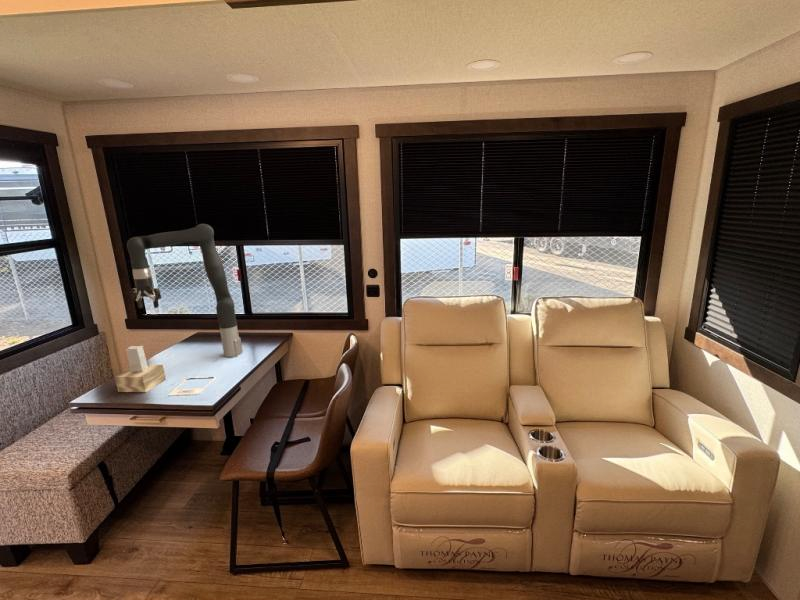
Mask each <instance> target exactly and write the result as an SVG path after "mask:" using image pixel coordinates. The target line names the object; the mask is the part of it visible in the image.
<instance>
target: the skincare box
mask: <svg viewBox="0 0 800 600" xmlns="http://www.w3.org/2000/svg"><path fill="white" fill-rule="evenodd" d="M124 351H125V354H126V357H127V361H128V364H129V369H131V372H144V371H145V370H147V369H148V365H149V364H148V362H147V358H146V354H145V351H144V346H143V345H130V346H129V347H127V348H125V350H124Z"/></svg>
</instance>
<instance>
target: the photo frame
mask: <svg viewBox="0 0 800 600" xmlns="http://www.w3.org/2000/svg"><path fill="white" fill-rule="evenodd" d="M208 377H209V376H203V377H201V376H200V377H196V379H208ZM213 377H214V378H212V379H211V380H210V381H209V382H208V383H207V384H206V385H205V386H204V387H202V388H185V389H184V388H183V389H181V388H180V387H181V386H182V385H183V384H184V383H185V382H187V380H191V379H190V378H191V377H186V378H185V379H184V380H183V381H182V382H181V383H180V384H179V385H177V386H176V387H175V388H174V389H173V390H172V391H170V393H168V395H167V397H171V396H170V395H182V396H192V395H191V394H200V393H201V392H202V391H203V390H204V389H205V388H206V387H207V386H208V385H209V384H210V383H211V384H212V383H213V382H214V380H215V379H217V376H213ZM211 384H210V385H211ZM179 386H180V387H179ZM178 387H179V388H178ZM208 387H209V386H208ZM208 387H207V388H208ZM177 388H178V389H177ZM207 388H206V389H207ZM176 389H177V390H176ZM206 389H205V390H206ZM205 390H204V391H205ZM204 391H203V392H204ZM203 392H202V393H203ZM202 393H201V394H202ZM201 394H200V395H201Z"/></svg>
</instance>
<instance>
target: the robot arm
mask: <svg viewBox="0 0 800 600" xmlns="http://www.w3.org/2000/svg"><path fill="white" fill-rule="evenodd" d="M214 235H215V231H214V228H213V227H212V226H211V225H209V224H206V223H200V224H197V225H196V226H194V227H191V228H188V229H182V230H175V231H166V232H158V233H154V234H153V233H152V234H150V235H141V236H134V237H131V238H129V239H128V240H127V243H126V246H127V247H126V248H127V251H128V254H129V255H128V256H129V257H130V263H131V268H132V269H131V270H132V276H133V277H132V278H133V281H134V288H130V293H131V300H132V301H136V304H137V307H138V309H143V308H144V305H143V300H142V299H143V298H147V297H148V298H149V299H151V301H152V304H153V307H154V309H158V308H159V306H160V303H159V301H160V300H161V299H162V295H161V291H160V288H159V287H155V288H154V287H153V285H154V283H153V279H152V274H151V273H152V272H151V270H150V267H149V262H148V259H147V255H146V250H150V249H159V248H166V247H170V246H171V247H172V246H174V245H179V244H184V243H190V242H198V245H199V247H200V250H201V254H202V255H201V256H202V262H203V264H204V265H203V267H204V269H205V270H204V271H205V272H206V273H205V274H206V276H207V279H208V281H209V284H210V285H211V287H212V289H213V291H214V295H215V299H216V307H215V309H216V316H217V321H218V322H217V323H218V325H219V333H220V338H221V339H220V340H221V345H222V352H223V356H224V357H225V358H233V357H239V356H240V355H241V354H242V353H243V346H242V340H241V339H242V338H241V336H239V329H238V322H237V318H236V317H237V316H236V310H235V302H234V300H233V298H232V295H231V293H230V290H229V286H228V280H227V276H226V271H225V268H224V264H223V261H222V260H221V259H222V258H221V257H220V255H219V253H218V250H217V248H216V244H215V239H214ZM238 355H239V356H238Z"/></svg>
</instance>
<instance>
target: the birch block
mask: <svg viewBox="0 0 800 600" xmlns="http://www.w3.org/2000/svg"><path fill="white" fill-rule="evenodd" d="M147 365H148V369H147V370H145V371H144V372H131V369H130V368H128V369H126V370H125V371H123V372H121V373H119V374H118V375H116V376H114V380H115V384H116V388H117V392H146V393H148V392H149V391H151V390H152V389H154V388H156V387H157V386H158V385H160V384H161V383H163V382H164V381H166V380H167V379H166V374H165V370H164V369H165V368H164V364H147ZM156 385H157V386H156ZM153 387H154V388H153ZM150 389H151V390H150ZM147 391H148V392H147Z"/></svg>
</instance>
